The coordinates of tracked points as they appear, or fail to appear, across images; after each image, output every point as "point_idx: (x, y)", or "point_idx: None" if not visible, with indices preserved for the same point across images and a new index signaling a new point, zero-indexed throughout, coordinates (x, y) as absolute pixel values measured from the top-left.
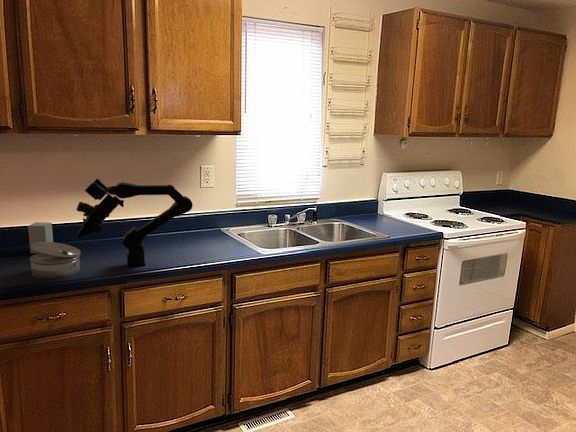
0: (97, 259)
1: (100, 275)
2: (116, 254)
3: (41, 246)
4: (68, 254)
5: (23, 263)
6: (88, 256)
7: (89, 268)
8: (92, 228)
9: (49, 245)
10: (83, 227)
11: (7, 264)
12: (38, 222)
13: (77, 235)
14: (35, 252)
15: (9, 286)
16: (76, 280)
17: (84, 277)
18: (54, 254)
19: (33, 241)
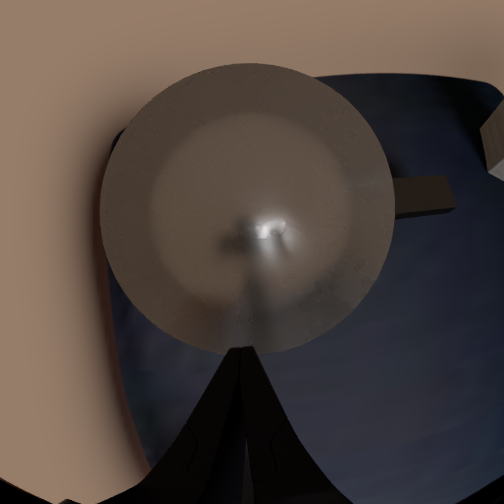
0: (410, 388)
1: (161, 414)
2: (451, 441)
3: (216, 114)
4: (134, 290)
5: (382, 111)
6: (459, 337)
7: (273, 375)
8: (7, 484)
9: (279, 146)
10: (158, 469)
11: (369, 78)
12: None
13: (221, 364)
14: (483, 139)
15: None
16: (120, 327)
17: (147, 357)
18: (101, 217)
19: (501, 115)
